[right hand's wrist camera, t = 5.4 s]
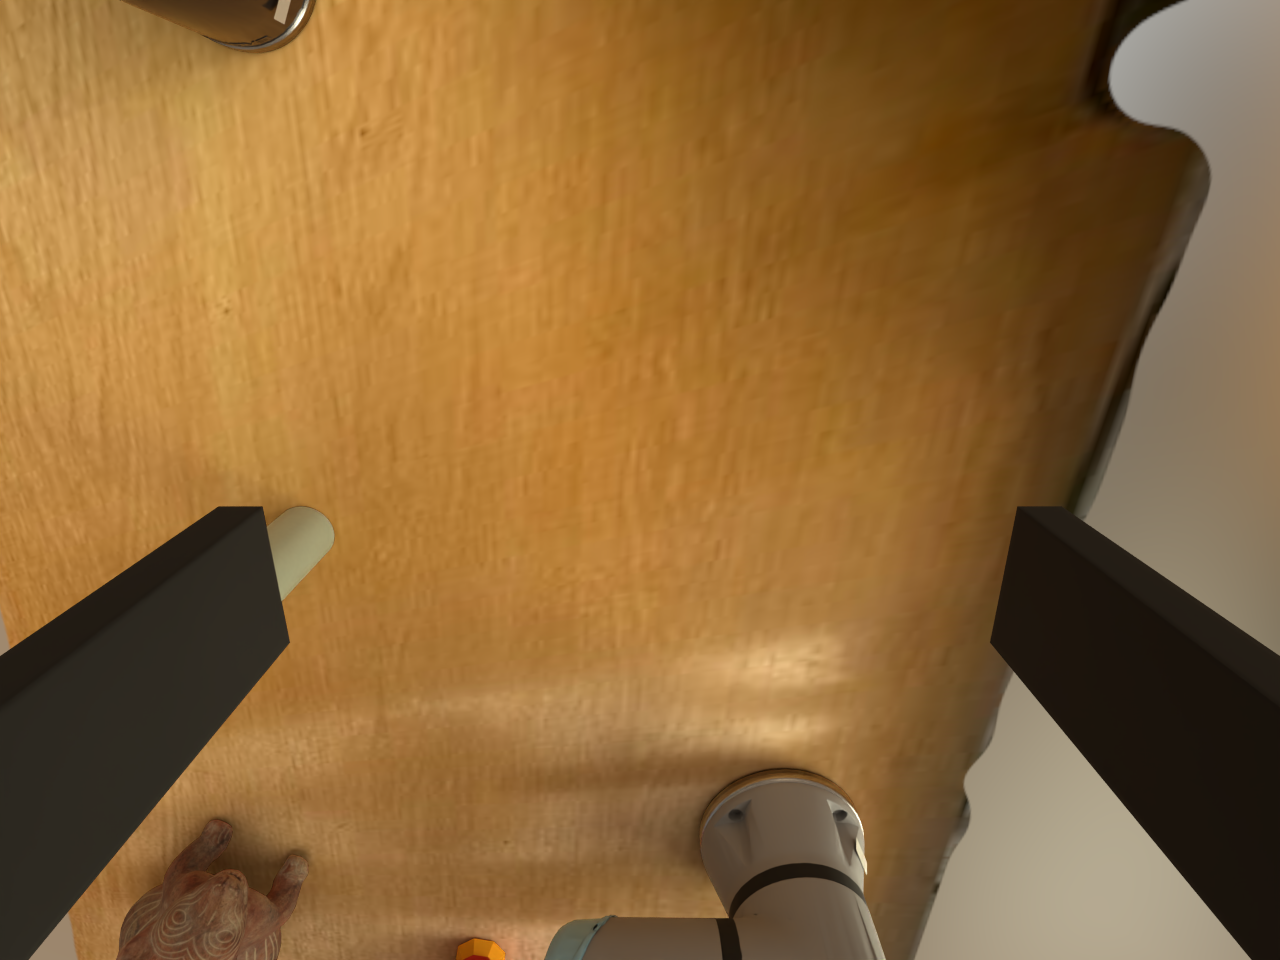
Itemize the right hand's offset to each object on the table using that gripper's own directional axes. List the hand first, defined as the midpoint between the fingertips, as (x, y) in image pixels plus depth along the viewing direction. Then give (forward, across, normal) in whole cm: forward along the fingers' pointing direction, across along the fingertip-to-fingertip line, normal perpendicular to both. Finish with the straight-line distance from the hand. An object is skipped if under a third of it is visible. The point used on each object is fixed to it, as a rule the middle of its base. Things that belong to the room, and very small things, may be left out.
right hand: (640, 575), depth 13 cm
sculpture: (+41, +39, +53) cm, 77 cm away
